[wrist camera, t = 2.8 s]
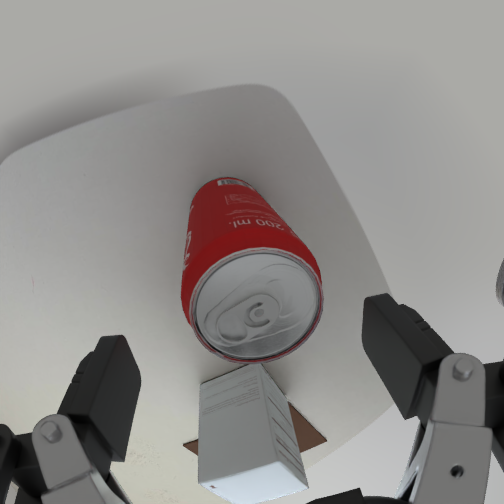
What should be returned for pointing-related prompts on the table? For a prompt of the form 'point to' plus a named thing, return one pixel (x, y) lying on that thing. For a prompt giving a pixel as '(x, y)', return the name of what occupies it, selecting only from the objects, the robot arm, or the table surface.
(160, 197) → the table surface
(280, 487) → the white packaging box
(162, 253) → the table surface
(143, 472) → the table surface
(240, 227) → the beverage can
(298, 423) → the mat
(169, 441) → the table surface
